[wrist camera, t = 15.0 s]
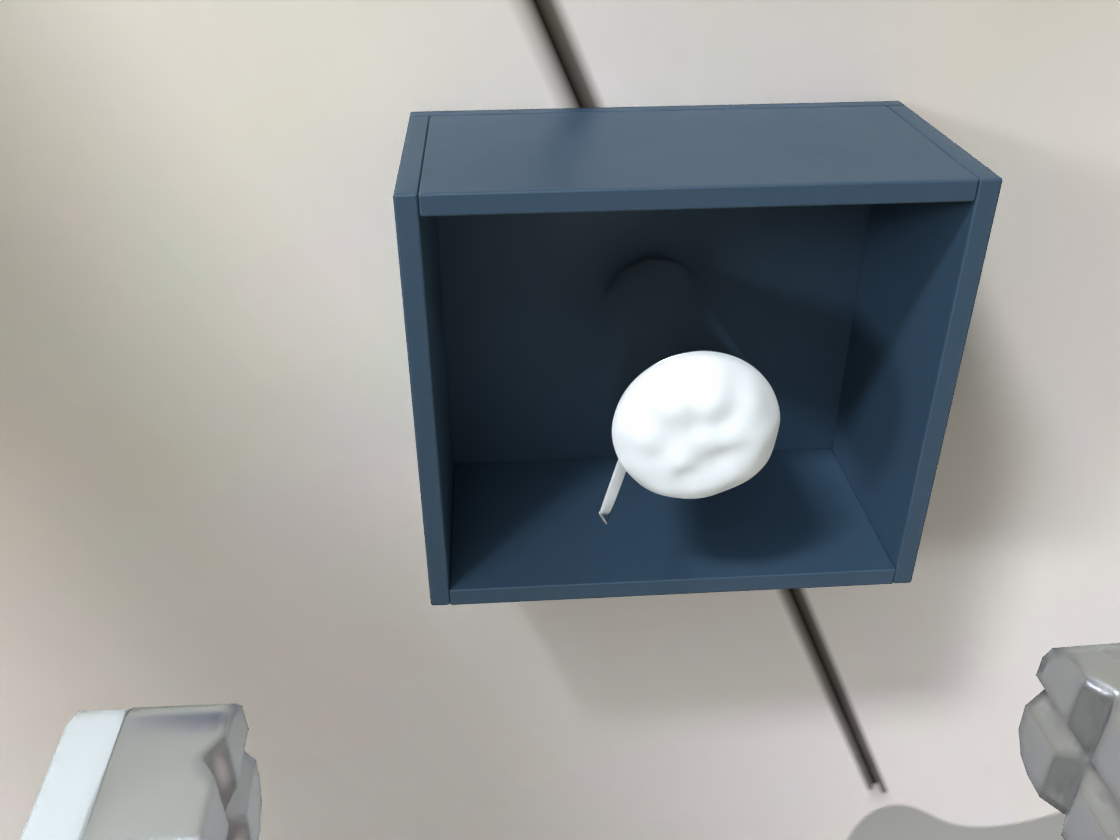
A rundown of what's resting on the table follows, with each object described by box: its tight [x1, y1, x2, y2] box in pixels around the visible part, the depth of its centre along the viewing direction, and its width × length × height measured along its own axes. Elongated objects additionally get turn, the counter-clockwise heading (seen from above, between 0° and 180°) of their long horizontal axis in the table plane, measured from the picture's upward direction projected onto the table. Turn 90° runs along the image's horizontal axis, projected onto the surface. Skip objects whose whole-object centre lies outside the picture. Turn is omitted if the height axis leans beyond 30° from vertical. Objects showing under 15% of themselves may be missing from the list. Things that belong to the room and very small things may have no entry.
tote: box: [393, 101, 1002, 605], centre depth 32 cm, size 15×13×8 cm
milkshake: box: [599, 258, 780, 524], centre depth 30 cm, size 5×5×10 cm
